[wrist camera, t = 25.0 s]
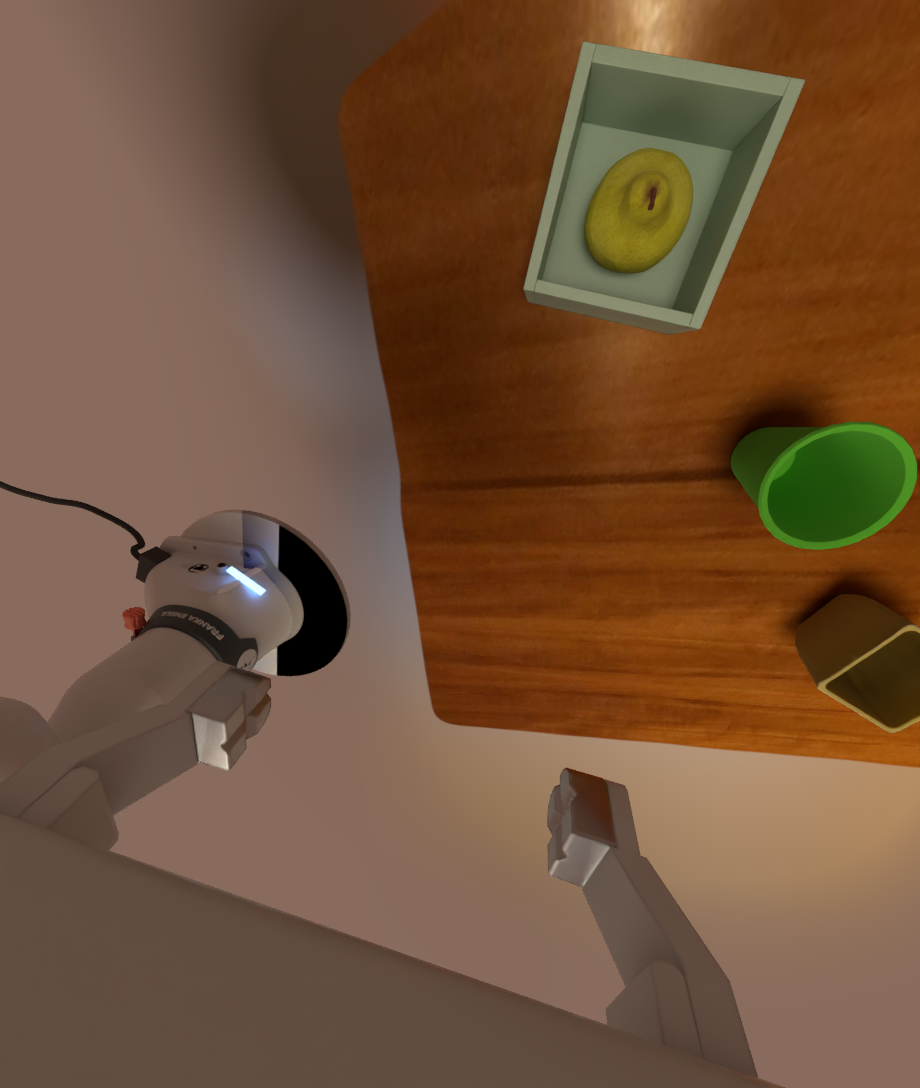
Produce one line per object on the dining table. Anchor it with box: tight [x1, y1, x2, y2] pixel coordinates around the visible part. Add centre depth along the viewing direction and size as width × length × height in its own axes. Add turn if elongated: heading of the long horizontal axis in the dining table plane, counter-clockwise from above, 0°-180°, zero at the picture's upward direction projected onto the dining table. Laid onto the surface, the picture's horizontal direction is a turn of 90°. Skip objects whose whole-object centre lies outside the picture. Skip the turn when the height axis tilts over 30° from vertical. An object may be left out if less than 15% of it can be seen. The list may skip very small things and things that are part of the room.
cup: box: [731, 422, 917, 550], centre depth 33 cm, size 9×9×11 cm
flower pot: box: [796, 594, 920, 733], centre depth 39 cm, size 9×9×9 cm
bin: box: [523, 41, 805, 335], centre depth 30 cm, size 13×13×8 cm
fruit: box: [584, 147, 693, 274], centre depth 27 cm, size 7×7×12 cm
